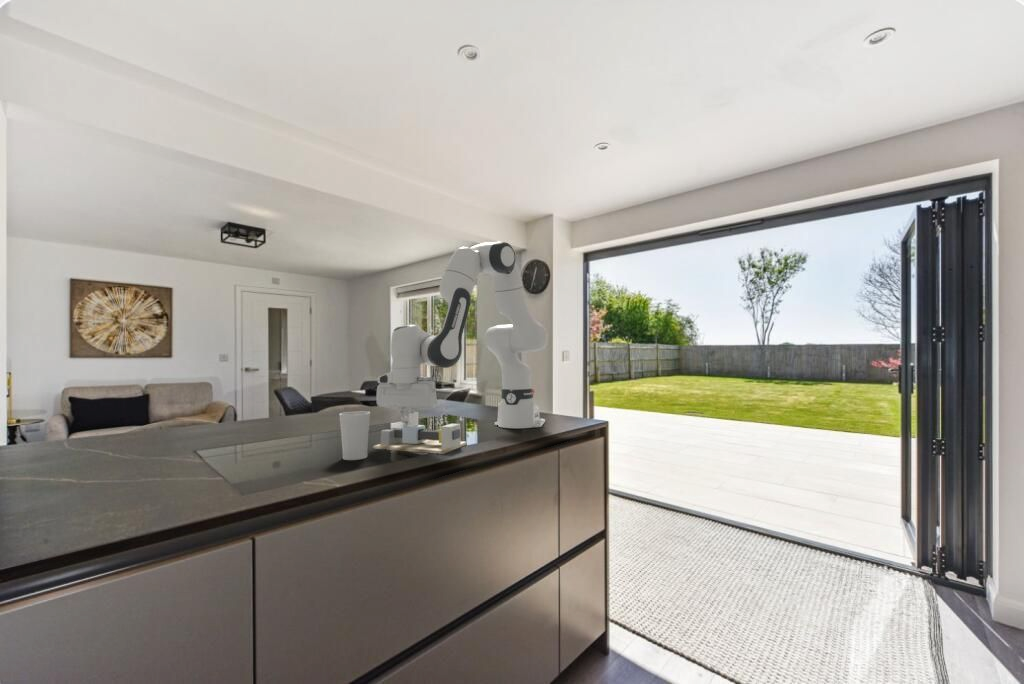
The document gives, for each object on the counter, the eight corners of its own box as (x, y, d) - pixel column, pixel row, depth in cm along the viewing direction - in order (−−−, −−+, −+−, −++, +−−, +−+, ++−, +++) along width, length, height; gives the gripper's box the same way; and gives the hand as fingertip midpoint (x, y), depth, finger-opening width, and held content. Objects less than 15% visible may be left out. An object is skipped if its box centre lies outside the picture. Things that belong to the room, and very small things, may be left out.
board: (373, 448, 132) (373, 445, 132) (401, 439, 145) (401, 437, 145) (443, 454, 123) (443, 451, 123) (467, 444, 136) (466, 441, 136)
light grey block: (380, 444, 135) (380, 430, 135) (397, 439, 143) (397, 426, 143) (388, 444, 134) (388, 431, 134) (405, 439, 141) (405, 427, 142)
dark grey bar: (388, 439, 137) (388, 427, 137) (395, 437, 140) (395, 425, 140) (444, 443, 129) (444, 430, 129) (451, 441, 133) (451, 428, 133)
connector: (441, 447, 128) (441, 426, 128) (451, 443, 134) (451, 423, 134) (451, 448, 127) (451, 427, 127) (462, 444, 132) (461, 424, 133)
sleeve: (402, 442, 134) (402, 413, 134) (411, 440, 138) (411, 411, 139) (416, 443, 132) (416, 414, 132) (425, 440, 137) (425, 412, 137)
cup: (375, 454, 125) (374, 411, 125) (362, 460, 117) (362, 415, 117) (347, 454, 125) (347, 411, 126) (333, 460, 117) (333, 415, 118)
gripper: (440, 376, 136) (441, 422, 136) (386, 376, 144) (386, 419, 143) (429, 377, 130) (429, 425, 130) (373, 377, 138) (373, 422, 138)
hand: (406, 422), depth 137 cm, fingers closed
